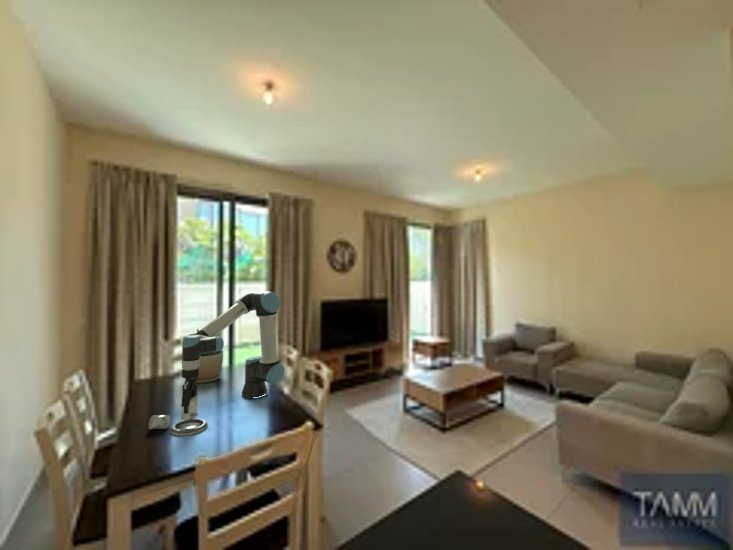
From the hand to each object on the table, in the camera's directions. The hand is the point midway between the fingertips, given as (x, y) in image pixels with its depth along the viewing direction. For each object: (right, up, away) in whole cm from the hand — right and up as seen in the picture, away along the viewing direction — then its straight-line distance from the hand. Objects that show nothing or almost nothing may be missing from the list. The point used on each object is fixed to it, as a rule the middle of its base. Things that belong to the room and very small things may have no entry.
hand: (189, 416), depth 166 cm
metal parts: (-5, -6, 0) cm, 7 cm away
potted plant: (-27, -5, +74) cm, 79 cm away
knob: (0, 0, 0) cm, 0 cm away
